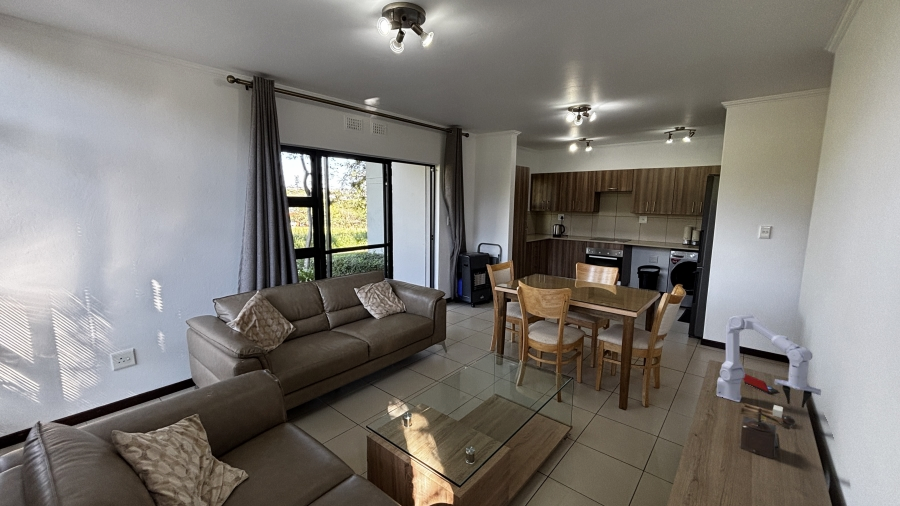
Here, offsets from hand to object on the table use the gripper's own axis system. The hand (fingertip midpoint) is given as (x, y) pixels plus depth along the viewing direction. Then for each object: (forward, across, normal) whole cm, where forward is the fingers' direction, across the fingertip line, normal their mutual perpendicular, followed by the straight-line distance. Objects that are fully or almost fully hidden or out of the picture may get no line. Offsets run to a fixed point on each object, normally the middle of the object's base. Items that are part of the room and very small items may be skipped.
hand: (795, 404), depth 158 cm
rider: (+9, -5, 0) cm, 10 cm away
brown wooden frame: (+10, -10, 0) cm, 14 cm away
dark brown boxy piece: (+10, -7, -30) cm, 32 cm away
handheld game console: (+10, -15, +35) cm, 39 cm away
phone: (+10, -8, -20) cm, 24 cm away
